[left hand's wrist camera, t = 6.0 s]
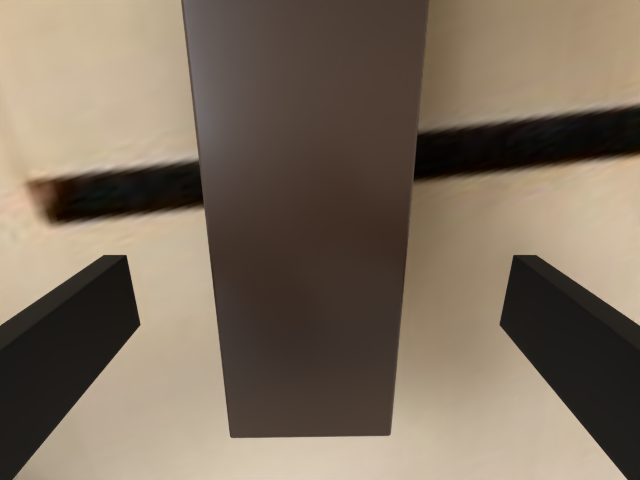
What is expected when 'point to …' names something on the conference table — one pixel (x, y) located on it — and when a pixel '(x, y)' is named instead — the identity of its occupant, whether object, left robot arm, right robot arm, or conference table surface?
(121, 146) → the conference table surface
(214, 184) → the beam
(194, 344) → the conference table surface
